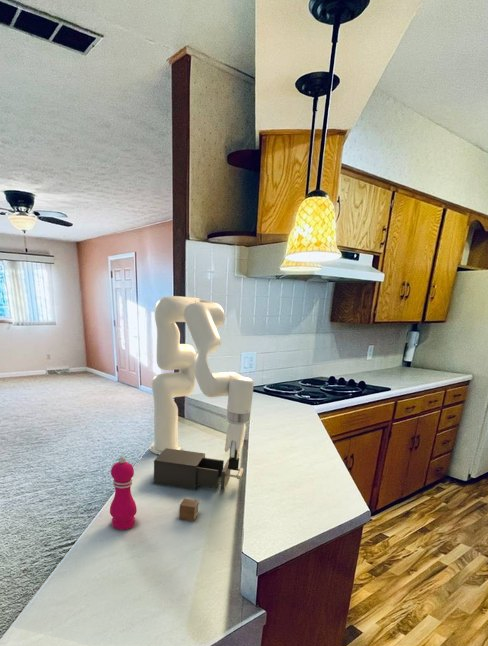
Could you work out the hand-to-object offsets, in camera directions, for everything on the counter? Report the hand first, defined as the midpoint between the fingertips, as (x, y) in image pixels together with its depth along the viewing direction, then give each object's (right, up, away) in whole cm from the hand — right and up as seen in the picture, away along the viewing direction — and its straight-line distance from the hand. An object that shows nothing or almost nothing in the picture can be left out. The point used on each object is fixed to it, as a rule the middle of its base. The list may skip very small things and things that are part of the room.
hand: (233, 468), depth 138 cm
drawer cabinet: (-18, -4, +6) cm, 20 cm away
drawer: (-6, -5, +3) cm, 8 cm away
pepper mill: (-32, -15, -24) cm, 43 cm away
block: (-14, -14, -18) cm, 27 cm away
